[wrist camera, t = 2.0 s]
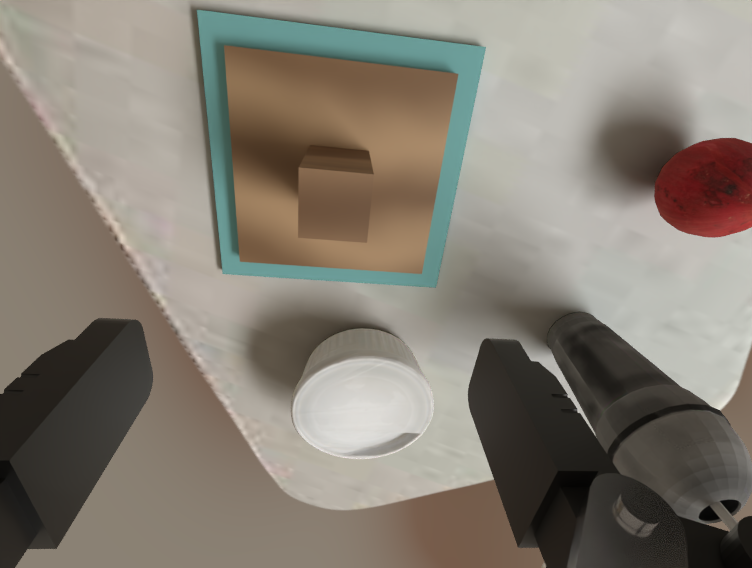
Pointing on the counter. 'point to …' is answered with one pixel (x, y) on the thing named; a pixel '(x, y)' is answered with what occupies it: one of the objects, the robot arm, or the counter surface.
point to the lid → (335, 159)
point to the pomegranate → (708, 188)
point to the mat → (345, 47)
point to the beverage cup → (653, 423)
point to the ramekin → (362, 396)
